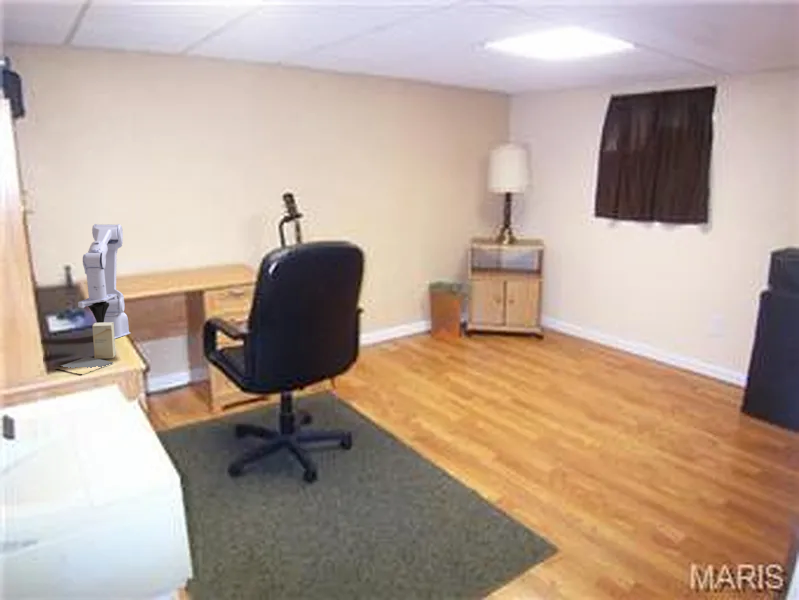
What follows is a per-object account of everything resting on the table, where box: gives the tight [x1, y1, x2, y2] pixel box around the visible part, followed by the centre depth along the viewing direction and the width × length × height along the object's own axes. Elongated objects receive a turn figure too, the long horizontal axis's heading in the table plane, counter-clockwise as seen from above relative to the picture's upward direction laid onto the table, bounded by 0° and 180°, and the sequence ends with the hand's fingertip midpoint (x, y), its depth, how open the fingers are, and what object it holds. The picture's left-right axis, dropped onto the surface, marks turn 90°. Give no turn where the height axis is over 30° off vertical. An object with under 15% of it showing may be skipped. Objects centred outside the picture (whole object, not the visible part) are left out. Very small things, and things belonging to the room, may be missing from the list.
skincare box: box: [91, 322, 116, 360], centre depth 200 cm, size 6×4×12 cm
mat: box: [61, 356, 114, 368], centre depth 192 cm, size 12×12×1 cm
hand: (100, 322), depth 206 cm, fingers closed
